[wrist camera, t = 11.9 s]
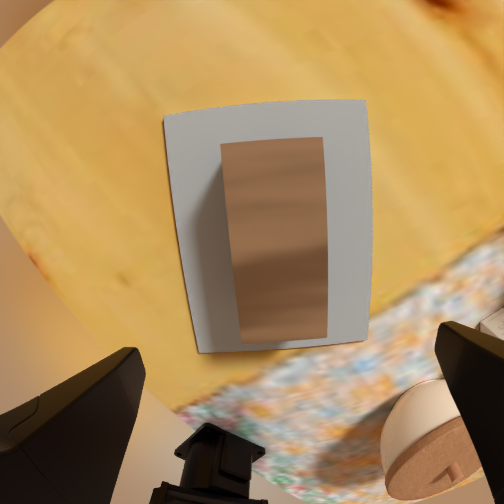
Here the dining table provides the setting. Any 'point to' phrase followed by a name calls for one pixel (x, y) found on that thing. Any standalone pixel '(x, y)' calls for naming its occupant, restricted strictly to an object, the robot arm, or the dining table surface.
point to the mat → (216, 224)
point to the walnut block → (278, 237)
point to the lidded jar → (425, 443)
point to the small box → (494, 324)
